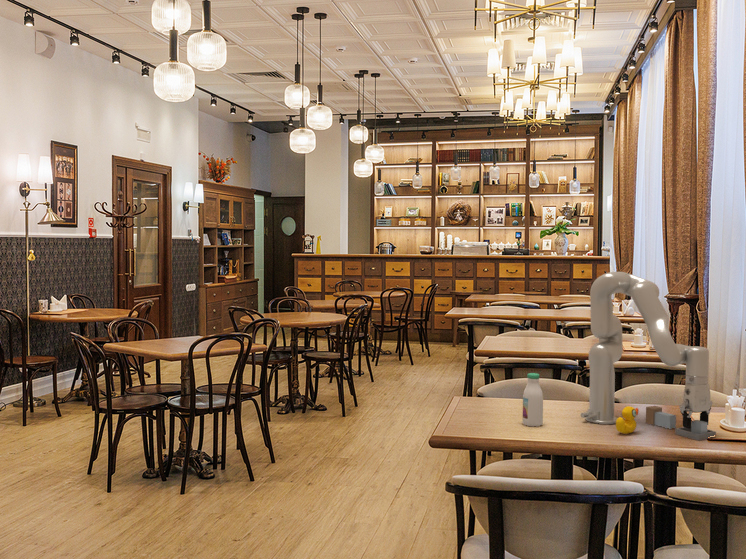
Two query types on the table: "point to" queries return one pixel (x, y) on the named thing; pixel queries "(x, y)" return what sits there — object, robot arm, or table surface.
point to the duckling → (627, 420)
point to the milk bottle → (533, 402)
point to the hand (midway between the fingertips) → (695, 426)
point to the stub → (699, 427)
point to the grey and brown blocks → (660, 417)
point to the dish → (687, 433)
